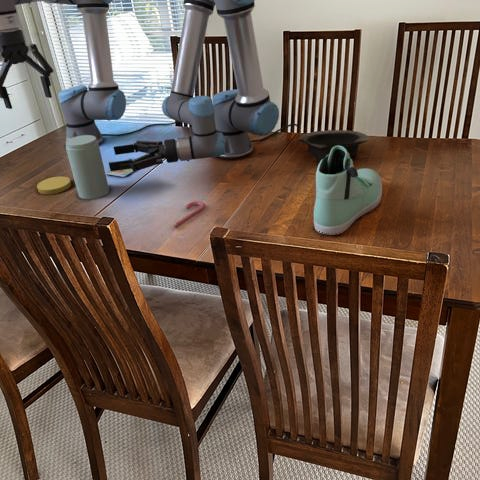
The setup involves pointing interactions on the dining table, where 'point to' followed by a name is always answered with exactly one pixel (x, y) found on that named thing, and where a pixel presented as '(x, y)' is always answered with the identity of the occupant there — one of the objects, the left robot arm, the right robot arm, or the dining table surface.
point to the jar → (87, 166)
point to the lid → (54, 185)
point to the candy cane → (194, 213)
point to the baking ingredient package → (120, 172)
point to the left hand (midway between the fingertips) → (29, 102)
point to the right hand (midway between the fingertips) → (112, 158)
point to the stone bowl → (333, 142)
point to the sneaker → (343, 192)
